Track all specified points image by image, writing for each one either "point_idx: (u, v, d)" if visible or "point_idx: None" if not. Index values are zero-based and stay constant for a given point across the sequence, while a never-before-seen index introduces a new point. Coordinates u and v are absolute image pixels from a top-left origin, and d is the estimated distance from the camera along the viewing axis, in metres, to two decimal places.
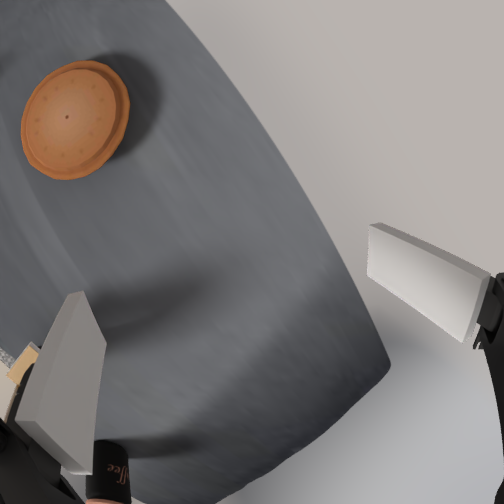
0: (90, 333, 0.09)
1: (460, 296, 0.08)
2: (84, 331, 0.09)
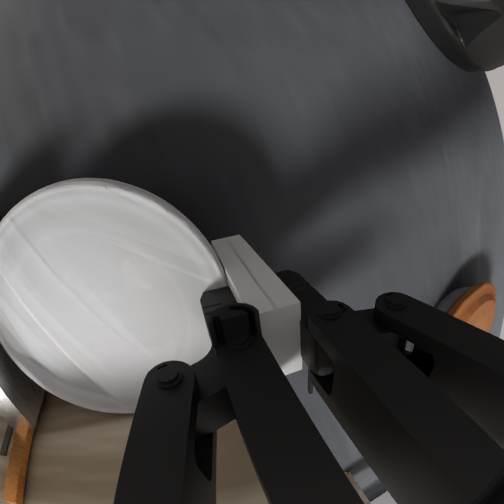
0: None
1: None
2: None
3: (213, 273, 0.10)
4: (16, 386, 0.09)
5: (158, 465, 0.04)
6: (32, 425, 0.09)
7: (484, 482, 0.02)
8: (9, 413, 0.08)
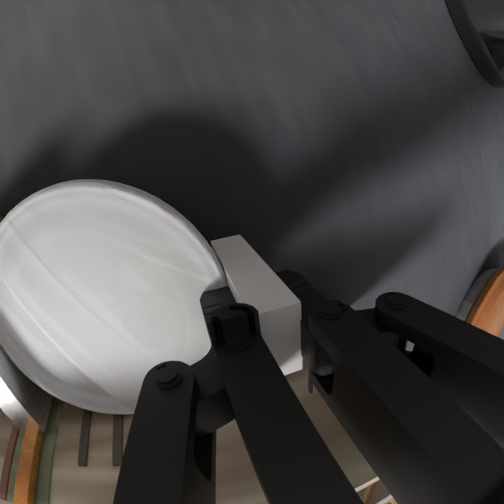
0: None
1: None
2: None
3: (212, 272, 0.10)
4: (26, 388, 0.09)
5: (157, 465, 0.04)
6: (42, 427, 0.09)
7: (485, 482, 0.02)
8: (18, 416, 0.08)
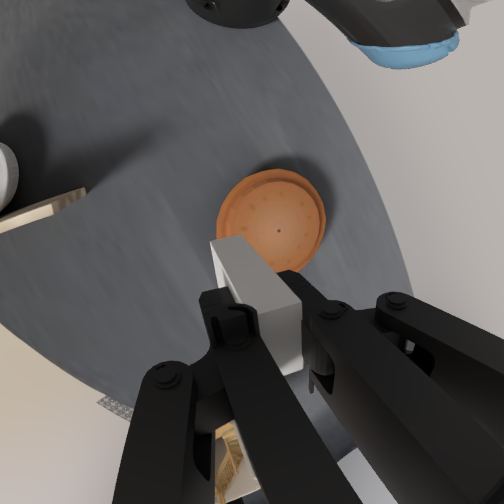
0: None
1: None
2: None
3: (3, 159, 0.22)
4: None
5: (156, 465, 0.04)
6: None
7: (485, 482, 0.02)
8: None
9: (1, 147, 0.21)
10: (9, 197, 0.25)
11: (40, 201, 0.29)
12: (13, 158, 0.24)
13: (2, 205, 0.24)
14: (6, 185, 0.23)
